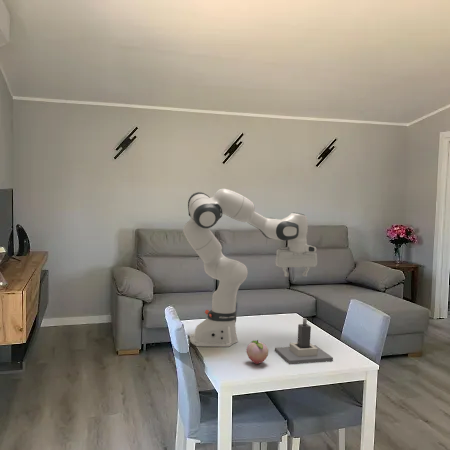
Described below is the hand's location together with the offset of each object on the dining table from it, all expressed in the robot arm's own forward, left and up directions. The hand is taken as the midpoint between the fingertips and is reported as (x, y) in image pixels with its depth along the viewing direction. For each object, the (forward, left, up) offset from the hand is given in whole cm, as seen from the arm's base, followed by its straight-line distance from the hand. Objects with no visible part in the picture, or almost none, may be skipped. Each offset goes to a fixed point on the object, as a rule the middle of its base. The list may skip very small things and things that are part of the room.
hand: (295, 276), depth 221 cm
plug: (-4, -20, -30) cm, 36 cm away
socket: (-4, -20, -31) cm, 37 cm away
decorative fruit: (-27, -25, -31) cm, 48 cm away
